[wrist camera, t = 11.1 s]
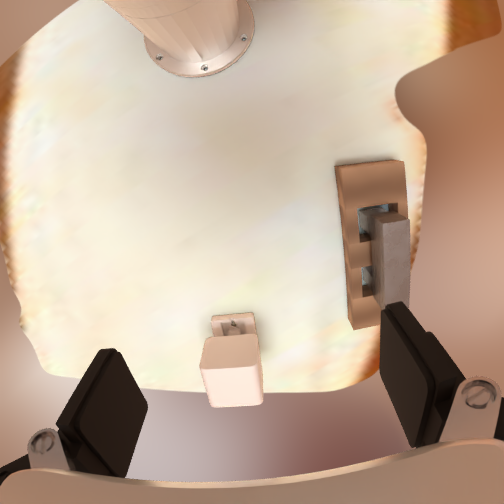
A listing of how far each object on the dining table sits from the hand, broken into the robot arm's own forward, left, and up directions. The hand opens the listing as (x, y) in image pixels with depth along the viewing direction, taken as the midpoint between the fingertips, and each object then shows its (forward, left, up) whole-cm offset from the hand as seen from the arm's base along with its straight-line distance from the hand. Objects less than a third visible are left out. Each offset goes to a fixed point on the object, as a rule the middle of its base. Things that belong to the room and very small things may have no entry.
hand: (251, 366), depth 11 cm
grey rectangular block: (+7, +13, -28) cm, 32 cm away
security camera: (+17, -6, -28) cm, 33 cm away
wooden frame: (+7, +13, -28) cm, 32 cm away
